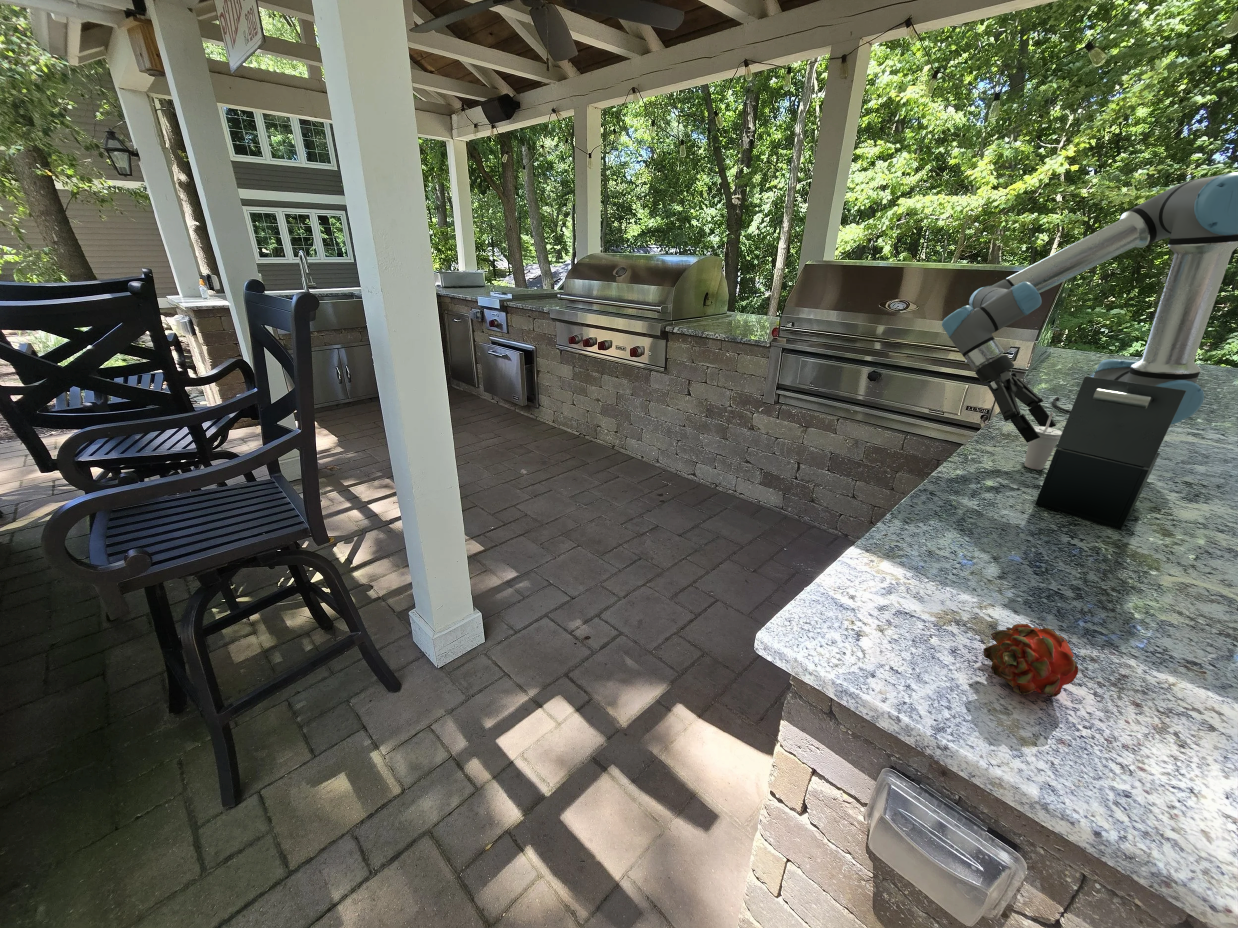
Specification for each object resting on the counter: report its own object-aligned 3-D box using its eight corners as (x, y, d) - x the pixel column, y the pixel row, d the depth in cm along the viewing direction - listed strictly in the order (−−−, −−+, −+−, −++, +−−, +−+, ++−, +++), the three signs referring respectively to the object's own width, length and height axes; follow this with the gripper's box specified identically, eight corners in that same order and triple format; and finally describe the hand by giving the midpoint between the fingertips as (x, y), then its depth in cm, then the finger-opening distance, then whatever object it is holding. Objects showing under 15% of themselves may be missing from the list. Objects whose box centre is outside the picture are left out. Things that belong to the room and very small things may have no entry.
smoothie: (1045, 464, 126) (1065, 411, 120) (1053, 473, 121) (1074, 418, 115) (1014, 460, 129) (1032, 408, 123) (1021, 469, 123) (1040, 415, 118)
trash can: (1052, 487, 114) (1072, 434, 109) (1133, 509, 104) (1160, 452, 99) (1034, 504, 106) (1055, 448, 101) (1120, 530, 96) (1148, 470, 91)
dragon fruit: (993, 713, 60) (1017, 674, 68) (1083, 718, 54) (1099, 675, 62) (964, 642, 62) (992, 612, 69) (1049, 639, 55) (1069, 607, 63)
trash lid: (1085, 376, 97) (1075, 377, 91) (1186, 390, 87) (1183, 392, 81) (1057, 446, 101) (1046, 452, 95) (1150, 467, 91) (1144, 475, 86)
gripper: (991, 364, 136) (1040, 430, 132) (955, 377, 122) (1008, 452, 117) (1021, 347, 131) (1073, 416, 126) (987, 359, 116) (1044, 437, 111)
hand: (1042, 434), depth 122 cm, fingers open, 13 cm apart
